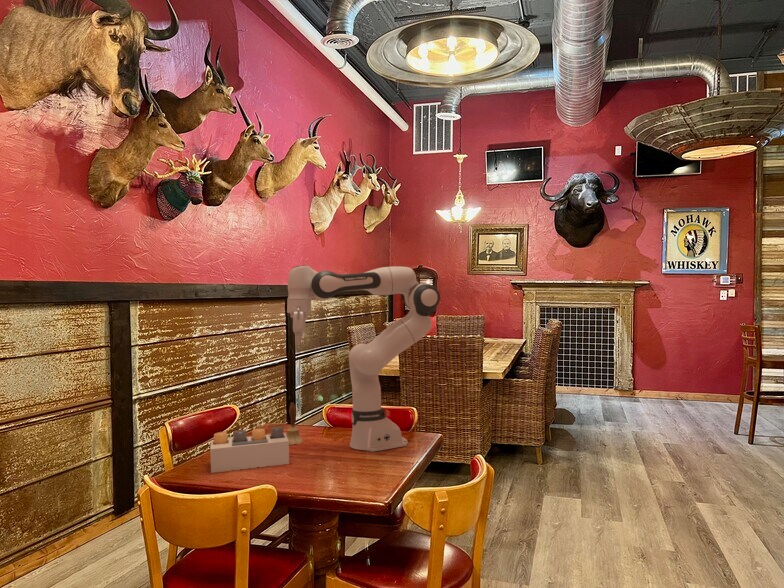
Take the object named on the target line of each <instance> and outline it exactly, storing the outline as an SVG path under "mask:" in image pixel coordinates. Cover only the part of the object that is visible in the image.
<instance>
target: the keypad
mask: <svg viewBox="0 0 784 588" xmlns="http://www.w3.org/2000/svg"><path fill="white" fill-rule="evenodd" d="M286 435H287V433H285V432H283V438H276V439H271V433H270V434H265V439H263V440H252V435H251V436H246V441H244V442H234V439H233V437H231V438H227V443H226V444H217V445H214V439H212V440H211V441H210V450H209V451H210V474H215V473H224V472H232V470H233V471H241V470H240V469H242V470H249V468H250V469H258V468H257V467H259V468H264V467H265V468H266V467H267V466H268V467H275V466H282V465H283V466H284V464H285V465H290V445H289V441H288V438H287V436H286ZM268 467H267V468H268Z"/></svg>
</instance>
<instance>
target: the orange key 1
mask: <svg viewBox="0 0 784 588" xmlns="http://www.w3.org/2000/svg"><path fill="white" fill-rule="evenodd" d="M227 439H228V432H227V431H226V432H225V431H219V432H216V433H214V434H213V440H214V445H217V444H226V443H227Z"/></svg>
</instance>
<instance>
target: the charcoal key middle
mask: <svg viewBox="0 0 784 588" xmlns="http://www.w3.org/2000/svg"><path fill="white" fill-rule="evenodd" d="M246 437H247V430H245V429H239V430H234V431H233V434H232V438H233V439H234V442H244V441H246Z"/></svg>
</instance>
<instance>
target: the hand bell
mask: <svg viewBox="0 0 784 588" xmlns="http://www.w3.org/2000/svg"><path fill="white" fill-rule="evenodd" d="M288 413H289V417H290V427H288V428H287V429H286V430H287V431H286V436H287V438H288V441H289V446H295V445H294V444H297V445H300V444H299V443H301V444H303V443H304V439H303V438H302V437H301V435H300V431H299V430H300V429H299V428H298V427H296V419H295V418H296V415H297V411H296V405H295V403H294V402H290V404H289V409H288ZM302 442H303V443H302Z"/></svg>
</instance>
